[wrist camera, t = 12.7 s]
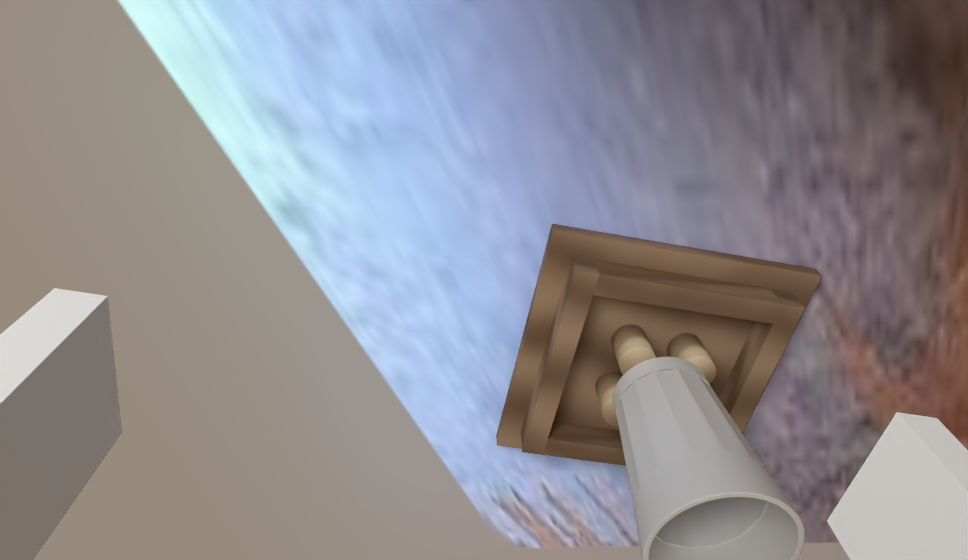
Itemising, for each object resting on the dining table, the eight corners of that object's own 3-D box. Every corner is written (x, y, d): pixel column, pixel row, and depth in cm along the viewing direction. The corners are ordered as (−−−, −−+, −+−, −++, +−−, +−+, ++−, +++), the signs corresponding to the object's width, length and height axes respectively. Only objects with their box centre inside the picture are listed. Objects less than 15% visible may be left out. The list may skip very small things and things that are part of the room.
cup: (696, 447, 44) (766, 608, 34) (586, 432, 44) (622, 592, 33) (739, 355, 41) (833, 503, 30) (619, 337, 40) (673, 483, 29)
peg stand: (552, 223, 40) (559, 251, 37) (814, 268, 42) (845, 299, 39) (496, 435, 49) (498, 474, 45) (717, 465, 51) (735, 504, 47)
